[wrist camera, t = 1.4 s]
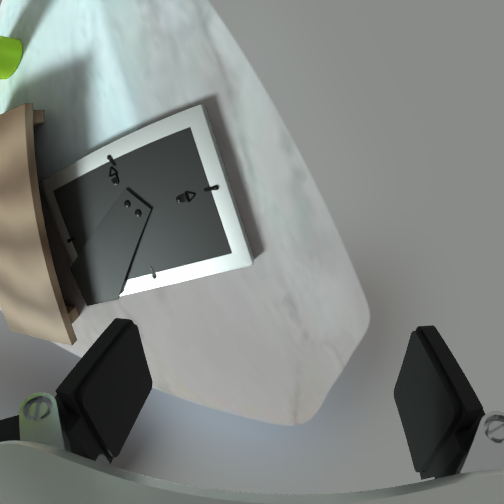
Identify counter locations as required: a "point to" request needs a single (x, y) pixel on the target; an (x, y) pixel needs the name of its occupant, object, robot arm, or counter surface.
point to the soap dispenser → (9, 56)
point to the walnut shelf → (27, 238)
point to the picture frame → (149, 210)
